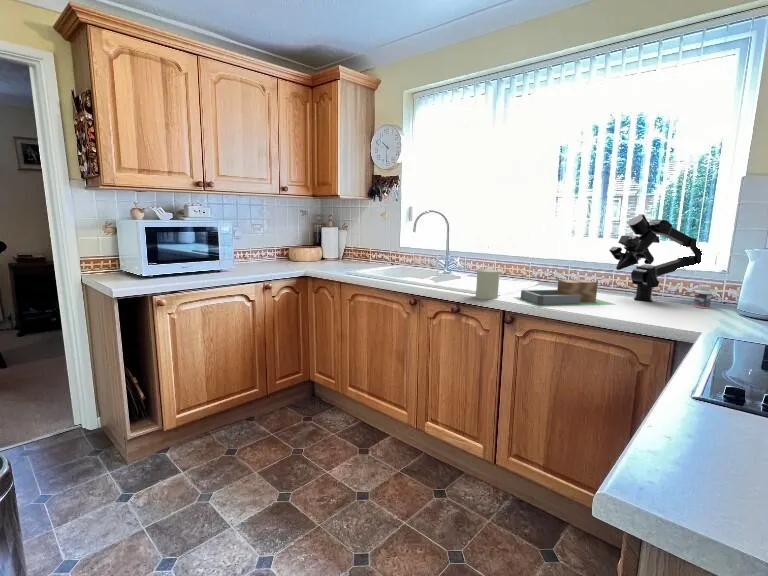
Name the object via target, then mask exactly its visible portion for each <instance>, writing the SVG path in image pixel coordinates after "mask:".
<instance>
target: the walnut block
mask: <svg viewBox="0 0 768 576" xmlns="http://www.w3.org/2000/svg"><path fill="white" fill-rule="evenodd" d="M556 290H557V295H580V302H596V299H597V293H598V292H597V291H598V282H597V281H593V280H588V279H565V280H563V279H561V280H558V281H557V289H556Z"/></svg>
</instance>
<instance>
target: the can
mask: <svg viewBox="0 0 768 576" xmlns="http://www.w3.org/2000/svg"><path fill="white" fill-rule="evenodd" d="M500 273H501V271H500V270H498V269H489V268H487V269H486V268H479V269H477V271H476V289H475V299H478V300H483V301H484V300H485V301H489V300H497V299H498V298H499V286H500V285H499V282H500Z"/></svg>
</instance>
